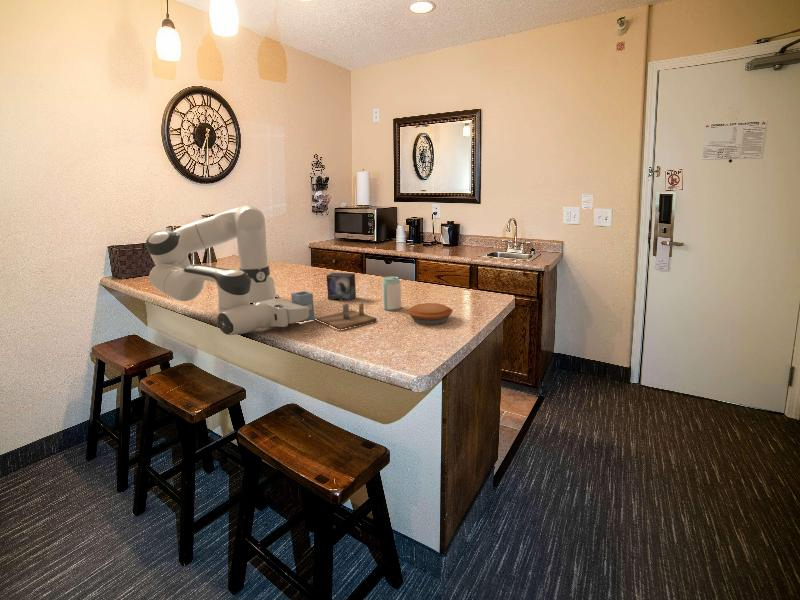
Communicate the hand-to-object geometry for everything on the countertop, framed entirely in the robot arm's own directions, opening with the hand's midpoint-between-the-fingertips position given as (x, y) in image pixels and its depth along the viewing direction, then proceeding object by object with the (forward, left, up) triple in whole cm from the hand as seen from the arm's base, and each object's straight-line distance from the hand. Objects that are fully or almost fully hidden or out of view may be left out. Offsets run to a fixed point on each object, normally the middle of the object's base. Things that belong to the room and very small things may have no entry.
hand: (305, 304), depth 159 cm
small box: (-17, +26, -6) cm, 32 cm away
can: (+10, +31, -6) cm, 33 cm away
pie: (+31, +31, -6) cm, 44 cm away
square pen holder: (0, -1, -6) cm, 6 cm away
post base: (+12, +9, -6) cm, 16 cm away
